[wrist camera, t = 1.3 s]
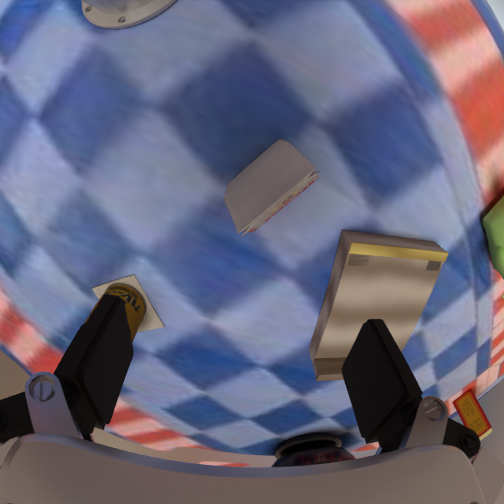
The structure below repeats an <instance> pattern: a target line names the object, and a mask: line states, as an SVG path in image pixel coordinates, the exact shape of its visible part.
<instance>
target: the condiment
mask: <svg viewBox="0 0 504 504" xmlns="http://www.w3.org/2000/svg"><path fill="white" fill-rule="evenodd" d="M92 289H93V291H94V292H95V294H96V296H97V297H98V299H99V301H98V302H97V304H96V305H95V306H94V309H95V308H96V306H97V305H98V303H99V302H100V300H101V299H102V297H103V296H104V295H105V294H111V295H117V296H120V298H121V300H123V301H124V302H125V307H126V313H127V319H128V325H129V330H130V335H131V340H132V342H133V340H134V337H135V335H136V333H137V332H141V331H146V330H152V329H156V328H162V327H165V326H164V325H163V324H162V322H161V320H160V318H159V317H158V316H157V314H156V312H155V311H154V309H153V307H152V305H151V303H150V302H149V300H148V298H147V296H146V295H145V293H144V291H143V289H142V287H141V286H140V284H139V282H138V280H137V279H136V277H135V276H134V275H132V276H129V277H125V278H122V279H118V280H115V281H112V282H109V283H106V284H103V285H101V286H98V287H95V288H92ZM94 309H93V310H92V312H91V313H90V315H89V317H90V316H91V314H92V313H93V311H94ZM144 315H145V316H144ZM89 317H88V318H87V320H88V319H89ZM144 317H145V319H144ZM87 320H86V321H85V322H84V323H86V322H87Z"/></svg>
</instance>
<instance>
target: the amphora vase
mask: <svg viewBox="0 0 504 504" xmlns="http://www.w3.org/2000/svg"><path fill="white" fill-rule="evenodd" d="M341 445H342V440H341V438H340V437H338V436H336V435H333V434H325V433H319V434H310V435H304V436H300V437H296V438H293V439H290V440H288V441H286V442H284V443H282V444H281V445H279V446H278V447H277V448H276V450H275V457H276V458H277V459H278V460H277V461H276V462H275V463H274V464H273V465H272V466H271V467H293V466H307V465H317V464H326V463H334V462H340V461H347V460H353V459H356V458H355V457H354V456H353V455H352V454H351V453H349V452H348V451H346V450H345V449H343V448H341Z"/></svg>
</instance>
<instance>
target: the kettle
mask: <svg viewBox="0 0 504 504" xmlns="http://www.w3.org/2000/svg"><path fill="white" fill-rule="evenodd" d="M482 225H483V227H484V228H485V230H486V235H487V239H488V244H489V248H488V251H489V252H490V253H491V258H492V264H493V268H494V269H496V270H497V271H498V272H499V273H500V274H501V276H502V278H503V279H504V195H503V196H502V198H501V199H500V200H499V201H498V202H497V203H496V205H495V206H494V207H493V208H492V209H491V210H490V211H489V212H488V214H487V215H485V217H484V218H483V222H482ZM503 298H504V294H503Z"/></svg>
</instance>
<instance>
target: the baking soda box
mask: <svg viewBox="0 0 504 504" xmlns="http://www.w3.org/2000/svg"><path fill="white" fill-rule="evenodd" d="M453 404H454V406H455V408H456V410H457V412H458V414H459V416H460V418H461V420H462V421H463V424H464V426H466V427H468V428H470V429H472V430H473V431H475V432H476V433H477V435H478V436H479V438H480V440H482V439H483V438H484V437H486V436H487V435H488V434H490V433H491V432H492V427H491V425H490V423H489V421H488V419H487V417H486V415H485V413H484V411H483V410H482V408H481V406H480V404H479V402H478V401H477V399H476V397H475V395H474V394H473V392H472V390H471V388H470V389H469V390H467V391H466V392H465V393H464V394H462V395H461V396H460V397H458V398H457V399H456V400H454V401H453Z"/></svg>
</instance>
